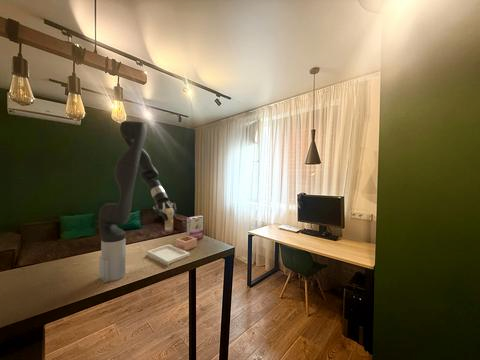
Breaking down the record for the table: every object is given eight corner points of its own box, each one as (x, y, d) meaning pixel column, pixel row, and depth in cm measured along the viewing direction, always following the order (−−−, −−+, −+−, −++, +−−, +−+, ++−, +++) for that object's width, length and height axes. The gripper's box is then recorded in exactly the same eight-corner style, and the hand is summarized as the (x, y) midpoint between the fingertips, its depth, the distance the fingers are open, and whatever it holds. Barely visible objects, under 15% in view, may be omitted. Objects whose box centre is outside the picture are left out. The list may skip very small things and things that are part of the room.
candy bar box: (199, 237, 145) (200, 215, 144) (203, 238, 141) (204, 216, 141) (186, 240, 137) (186, 217, 137) (189, 242, 134) (190, 218, 133)
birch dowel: (167, 231, 107) (168, 210, 107) (163, 230, 110) (163, 209, 109) (174, 229, 111) (175, 209, 110) (170, 228, 113) (170, 207, 113)
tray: (167, 266, 99) (167, 261, 99) (147, 255, 111) (147, 250, 111) (189, 257, 111) (189, 252, 110) (168, 248, 122) (169, 244, 122)
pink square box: (184, 252, 117) (185, 242, 117) (175, 248, 122) (175, 238, 122) (196, 247, 124) (197, 238, 124) (187, 244, 130) (187, 235, 130)
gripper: (150, 192, 108) (162, 217, 101) (172, 190, 119) (184, 213, 113) (145, 200, 111) (156, 225, 105) (167, 198, 123) (179, 220, 116)
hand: (171, 219), depth 109 cm, fingers closed on birch dowel, 4 cm apart
